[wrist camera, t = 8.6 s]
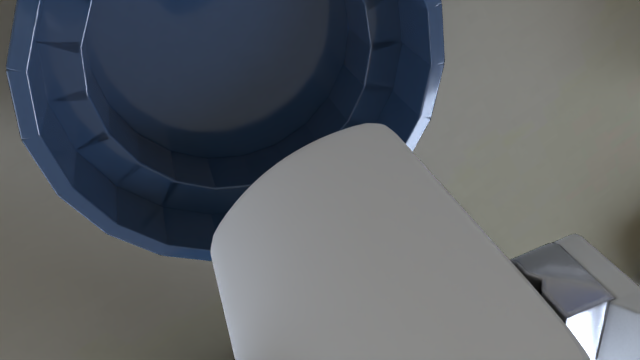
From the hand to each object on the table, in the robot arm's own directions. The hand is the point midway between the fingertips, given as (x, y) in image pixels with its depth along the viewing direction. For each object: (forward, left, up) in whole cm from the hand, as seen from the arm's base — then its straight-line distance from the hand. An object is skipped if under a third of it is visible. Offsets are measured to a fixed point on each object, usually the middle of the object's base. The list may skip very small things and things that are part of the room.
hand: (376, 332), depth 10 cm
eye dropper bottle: (0, 0, -5) cm, 5 cm away
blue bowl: (0, 0, -17) cm, 17 cm away
